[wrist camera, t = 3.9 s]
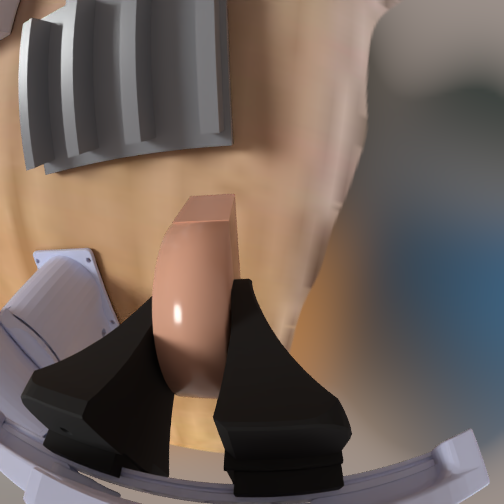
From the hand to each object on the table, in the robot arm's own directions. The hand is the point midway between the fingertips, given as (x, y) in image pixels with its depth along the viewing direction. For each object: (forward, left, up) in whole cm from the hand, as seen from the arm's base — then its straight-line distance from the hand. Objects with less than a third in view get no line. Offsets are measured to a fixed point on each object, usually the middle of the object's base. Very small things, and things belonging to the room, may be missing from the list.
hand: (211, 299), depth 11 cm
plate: (0, 0, -3) cm, 3 cm away
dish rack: (+12, +7, -9) cm, 17 cm away
